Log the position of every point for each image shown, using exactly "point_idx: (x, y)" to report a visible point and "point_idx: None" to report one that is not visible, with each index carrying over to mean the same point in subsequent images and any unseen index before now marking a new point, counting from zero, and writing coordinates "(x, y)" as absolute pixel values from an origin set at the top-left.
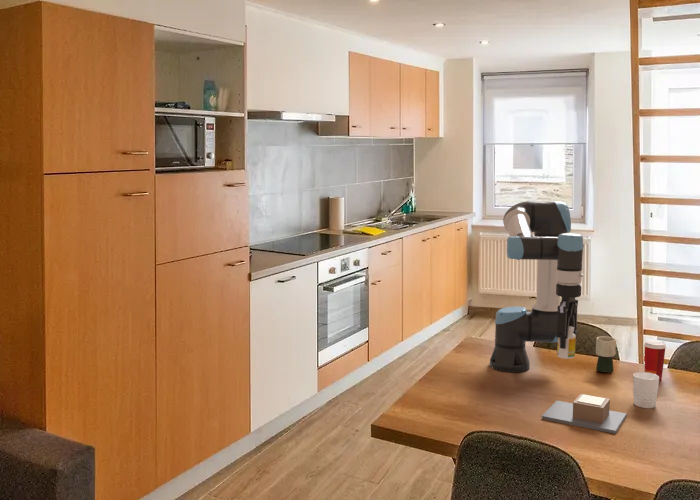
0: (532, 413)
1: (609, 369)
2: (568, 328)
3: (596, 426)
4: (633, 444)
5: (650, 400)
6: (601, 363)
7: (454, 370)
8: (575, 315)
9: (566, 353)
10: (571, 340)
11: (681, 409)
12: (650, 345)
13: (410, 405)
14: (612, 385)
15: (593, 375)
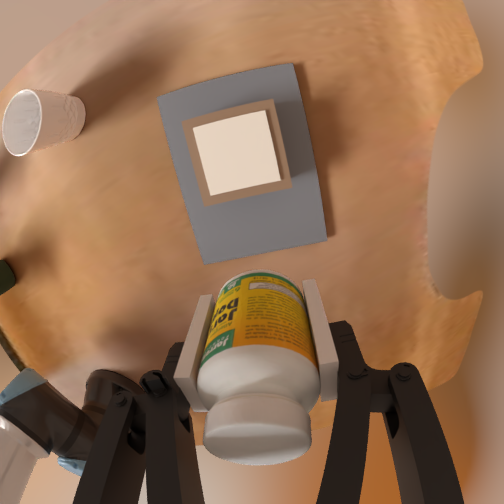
0: (307, 269)
1: (2, 265)
2: (335, 431)
3: (301, 107)
4: (319, 19)
5: (68, 96)
6: (3, 283)
7: None
8: (106, 488)
9: (319, 299)
10: (293, 342)
11: (50, 62)
12: None
13: None
14: (33, 228)
15: (28, 278)
